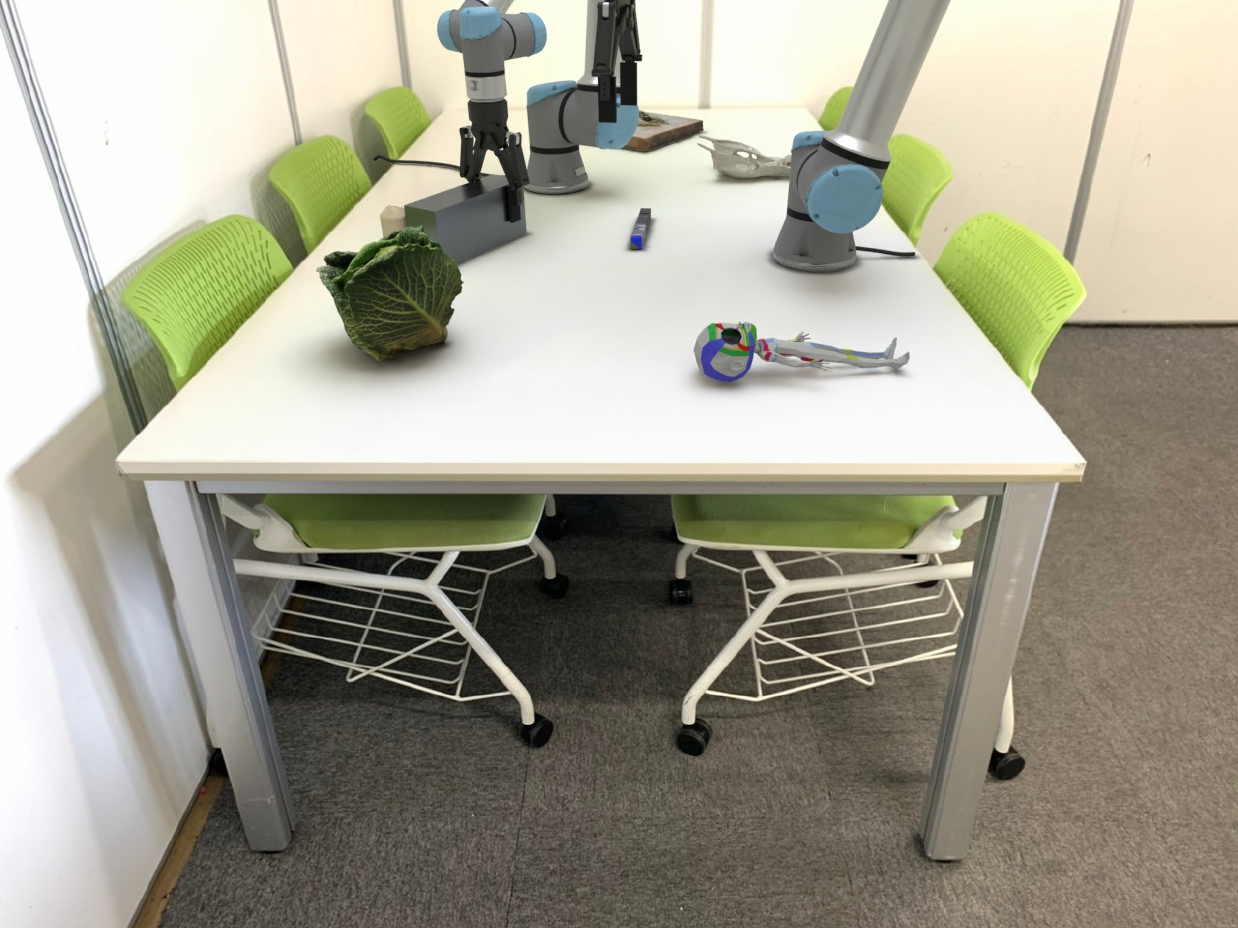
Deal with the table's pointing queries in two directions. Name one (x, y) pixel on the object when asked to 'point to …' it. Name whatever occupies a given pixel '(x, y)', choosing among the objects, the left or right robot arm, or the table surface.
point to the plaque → (661, 130)
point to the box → (468, 218)
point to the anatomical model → (744, 160)
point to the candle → (392, 219)
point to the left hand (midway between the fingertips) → (497, 217)
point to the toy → (775, 352)
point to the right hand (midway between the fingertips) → (618, 113)
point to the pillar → (640, 228)
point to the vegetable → (394, 292)
